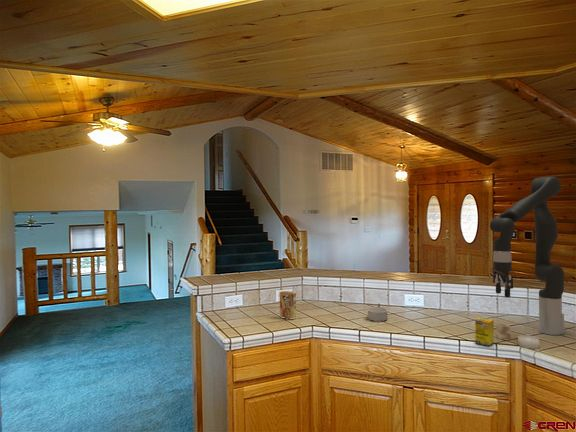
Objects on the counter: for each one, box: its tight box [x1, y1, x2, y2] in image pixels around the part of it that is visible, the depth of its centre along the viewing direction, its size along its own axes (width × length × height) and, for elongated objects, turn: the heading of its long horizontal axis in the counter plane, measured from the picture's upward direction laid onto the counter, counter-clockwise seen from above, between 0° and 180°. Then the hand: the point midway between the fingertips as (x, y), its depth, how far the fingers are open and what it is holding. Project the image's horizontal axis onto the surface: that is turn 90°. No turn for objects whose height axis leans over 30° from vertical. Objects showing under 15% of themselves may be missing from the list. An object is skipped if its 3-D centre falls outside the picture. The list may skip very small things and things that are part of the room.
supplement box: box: [474, 317, 495, 348], centre depth 174 cm, size 6×6×11 cm
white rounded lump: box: [517, 334, 540, 350], centre depth 171 cm, size 8×8×4 cm
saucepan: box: [366, 303, 389, 322], centre depth 219 cm, size 12×20×6 cm, turn 163°
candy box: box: [279, 290, 298, 318], centre depth 220 cm, size 9×4×15 cm, turn 67°
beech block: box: [495, 323, 512, 340], centre depth 181 cm, size 4×4×6 cm
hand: (502, 295), depth 181 cm, fingers open, 8 cm apart
